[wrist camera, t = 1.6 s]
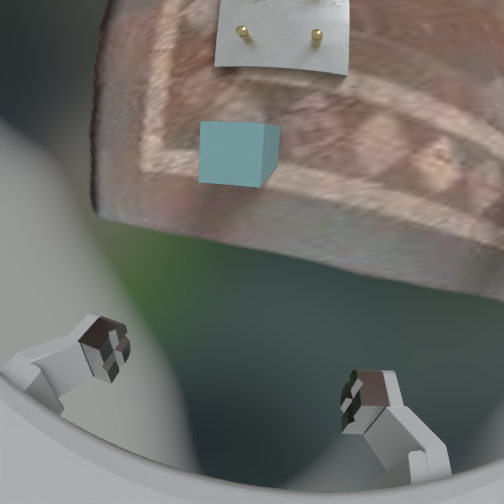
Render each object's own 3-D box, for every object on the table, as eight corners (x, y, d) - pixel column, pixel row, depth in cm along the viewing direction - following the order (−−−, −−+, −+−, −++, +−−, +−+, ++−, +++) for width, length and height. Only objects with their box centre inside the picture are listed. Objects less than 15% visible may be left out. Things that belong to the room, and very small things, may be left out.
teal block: (280, 126, 32) (264, 123, 19) (277, 165, 34) (260, 187, 21) (240, 123, 32) (200, 121, 20) (238, 162, 35) (198, 182, 22)
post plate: (347, -21, 21) (351, -38, 16) (346, 77, 27) (352, 69, 23) (227, -26, 23) (217, -41, 19) (217, 68, 30) (204, 60, 25)
